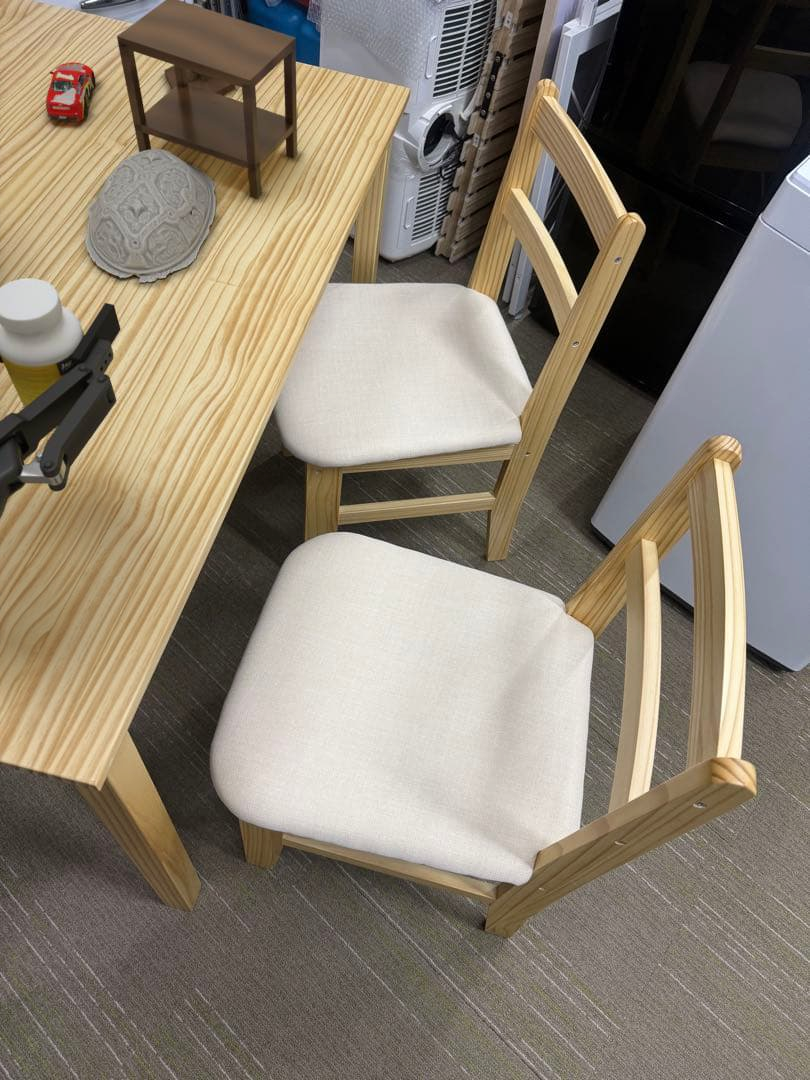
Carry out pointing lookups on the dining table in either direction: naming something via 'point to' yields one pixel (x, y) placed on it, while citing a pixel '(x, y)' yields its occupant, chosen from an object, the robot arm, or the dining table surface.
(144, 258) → the grey domed shell
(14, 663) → the dining table surface
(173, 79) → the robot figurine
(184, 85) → the rack
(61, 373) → the pill bottle
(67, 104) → the race car
